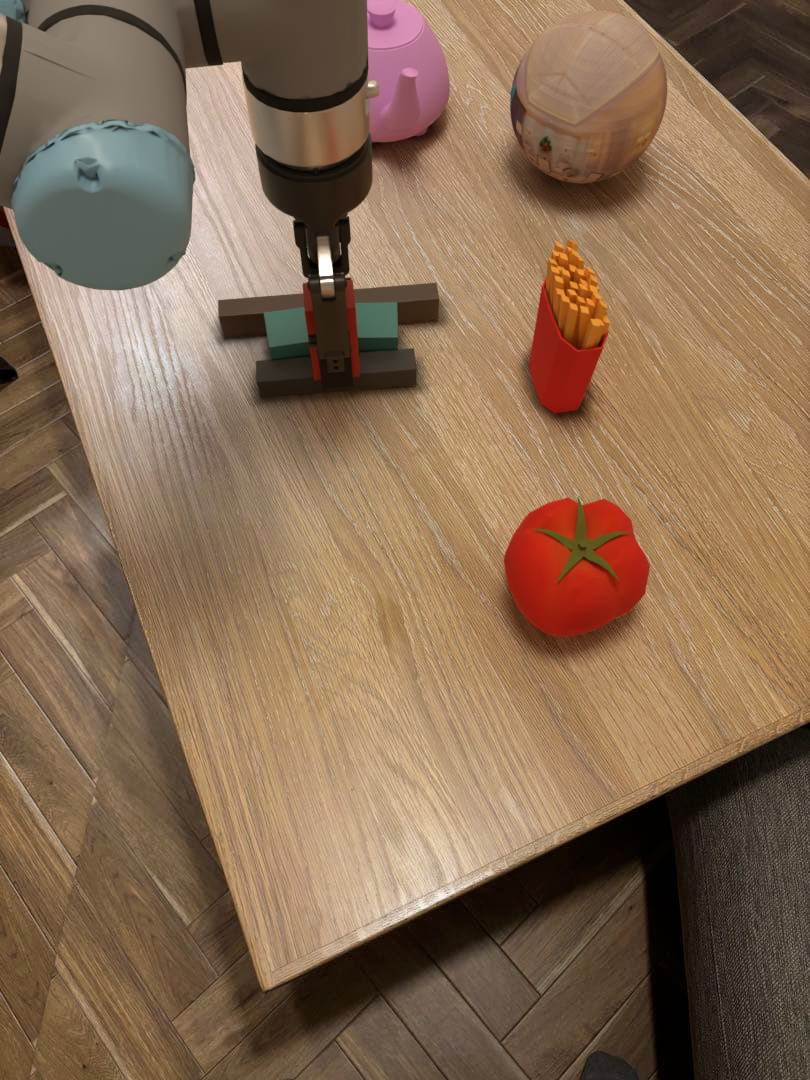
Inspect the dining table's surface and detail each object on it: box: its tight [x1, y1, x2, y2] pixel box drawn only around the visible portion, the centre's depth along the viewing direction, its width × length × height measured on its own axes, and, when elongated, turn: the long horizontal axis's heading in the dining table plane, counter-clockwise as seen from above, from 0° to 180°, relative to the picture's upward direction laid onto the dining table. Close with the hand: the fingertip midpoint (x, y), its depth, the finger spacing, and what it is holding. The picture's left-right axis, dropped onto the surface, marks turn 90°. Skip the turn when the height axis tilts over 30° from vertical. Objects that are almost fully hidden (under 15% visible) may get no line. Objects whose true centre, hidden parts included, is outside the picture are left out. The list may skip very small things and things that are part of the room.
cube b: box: [355, 302, 399, 353], centre depth 78 cm, size 4×4×4 cm
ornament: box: [509, 10, 668, 184], centre depth 84 cm, size 15×15×15 cm
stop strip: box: [217, 282, 440, 340], centre depth 80 cm, size 2×20×3 cm, turn 97°
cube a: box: [264, 307, 311, 360], centre depth 77 cm, size 4×4×4 cm
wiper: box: [255, 279, 418, 399], centre depth 73 cm, size 3×14×11 cm, turn 96°
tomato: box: [503, 496, 651, 638], centre depth 65 cm, size 11×11×9 cm
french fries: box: [528, 238, 611, 414], centre depth 72 cm, size 9×4×13 cm, turn 11°
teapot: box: [367, 0, 451, 144], centre depth 89 cm, size 20×14×12 cm
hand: (336, 367), depth 76 cm, fingers closed on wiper, 3 cm apart
